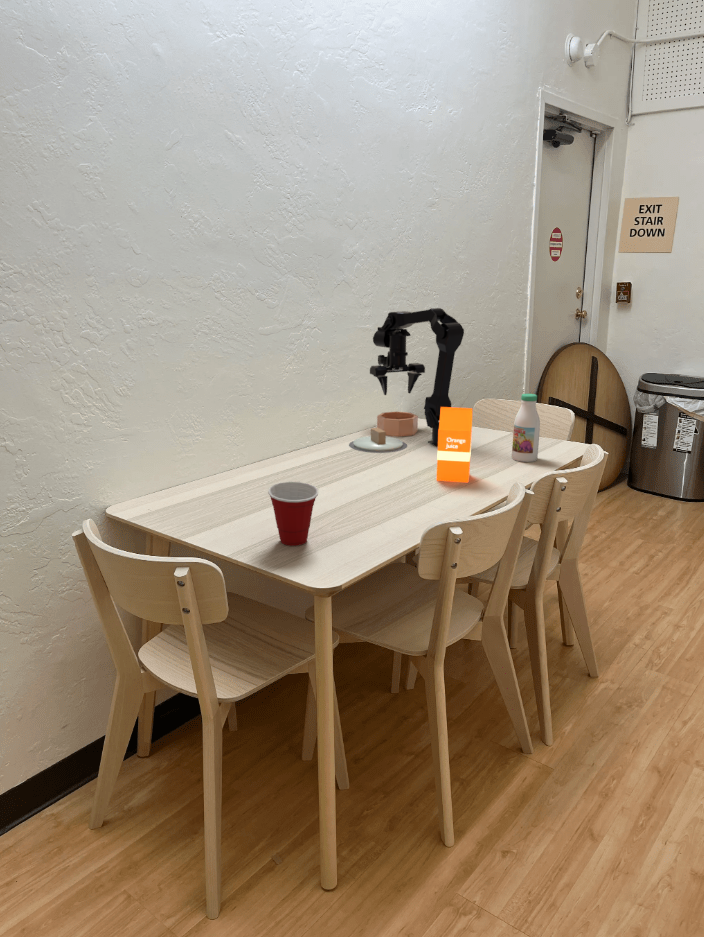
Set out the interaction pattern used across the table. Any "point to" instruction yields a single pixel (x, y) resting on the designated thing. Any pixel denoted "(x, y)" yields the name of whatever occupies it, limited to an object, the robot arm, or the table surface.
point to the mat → (377, 451)
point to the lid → (378, 442)
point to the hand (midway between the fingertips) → (397, 394)
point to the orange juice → (454, 444)
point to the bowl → (398, 423)
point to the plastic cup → (293, 510)
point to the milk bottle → (526, 430)
